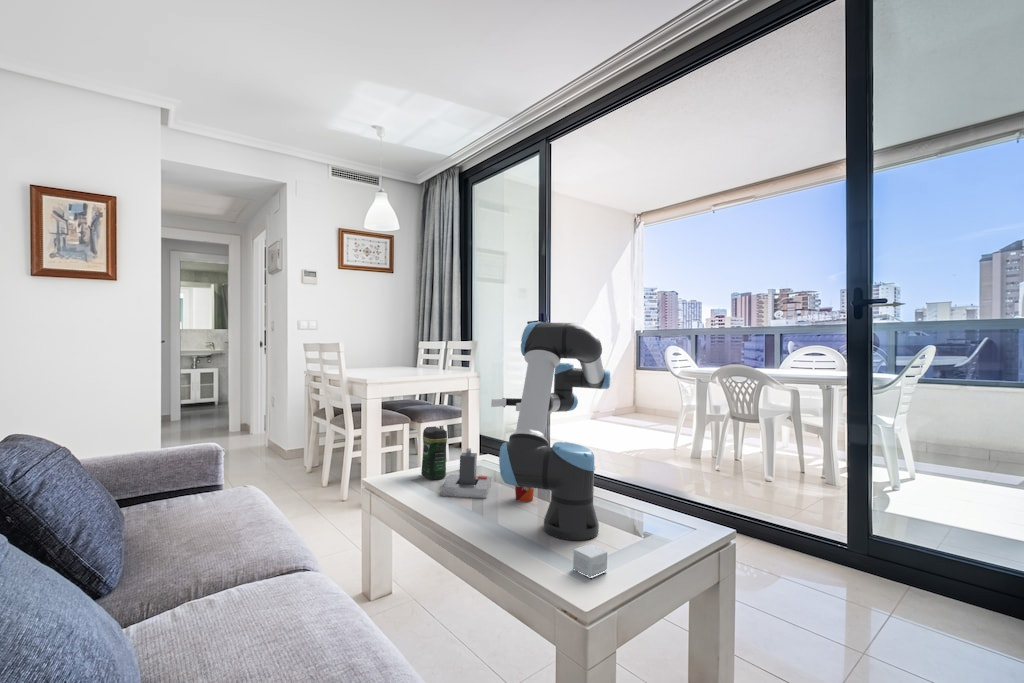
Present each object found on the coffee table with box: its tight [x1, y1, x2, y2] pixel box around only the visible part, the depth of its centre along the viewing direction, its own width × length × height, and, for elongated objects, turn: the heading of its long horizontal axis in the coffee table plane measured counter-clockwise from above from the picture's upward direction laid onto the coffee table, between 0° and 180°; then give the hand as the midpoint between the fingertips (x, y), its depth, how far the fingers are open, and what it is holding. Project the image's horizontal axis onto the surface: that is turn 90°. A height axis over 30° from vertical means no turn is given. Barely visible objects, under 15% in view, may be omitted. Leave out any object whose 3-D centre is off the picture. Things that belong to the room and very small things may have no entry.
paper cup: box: [514, 486, 535, 503], centre depth 159 cm, size 8×8×14 cm
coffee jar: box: [421, 426, 448, 481], centre depth 182 cm, size 10×8×19 cm
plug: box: [458, 447, 478, 485], centre depth 167 cm, size 5×5×14 cm
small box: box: [572, 543, 608, 577], centre depth 110 cm, size 6×6×5 cm
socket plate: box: [440, 474, 493, 499], centre depth 167 cm, size 15×15×3 cm
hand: (503, 405), depth 174 cm, fingers open, 13 cm apart
